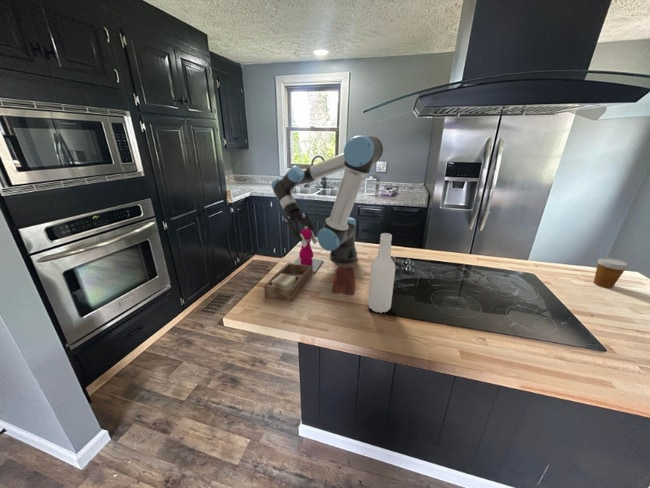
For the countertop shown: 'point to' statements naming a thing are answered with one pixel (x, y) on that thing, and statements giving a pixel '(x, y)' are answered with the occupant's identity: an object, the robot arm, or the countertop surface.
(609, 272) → the disposable coffee cup
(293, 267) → the tray
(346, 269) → the wooden tablet
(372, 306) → the alcohol
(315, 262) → the slate tile
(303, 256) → the pepper mill
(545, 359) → the countertop surface
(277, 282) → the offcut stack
